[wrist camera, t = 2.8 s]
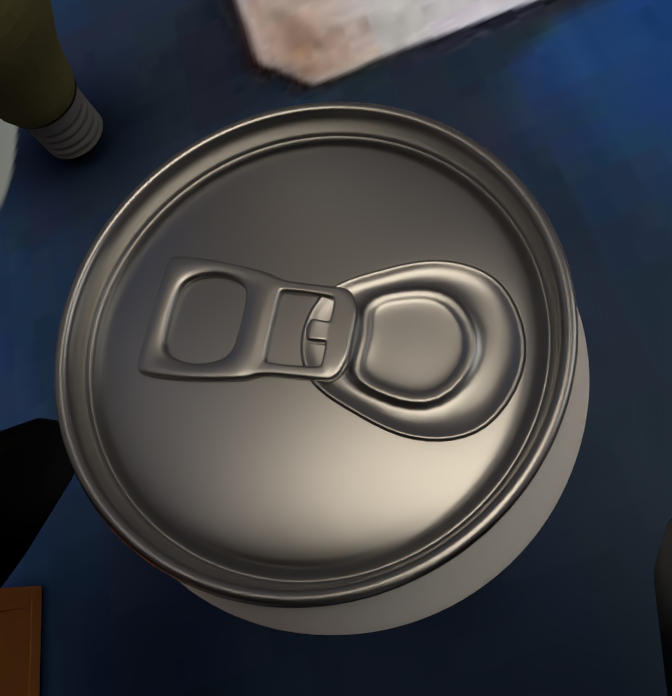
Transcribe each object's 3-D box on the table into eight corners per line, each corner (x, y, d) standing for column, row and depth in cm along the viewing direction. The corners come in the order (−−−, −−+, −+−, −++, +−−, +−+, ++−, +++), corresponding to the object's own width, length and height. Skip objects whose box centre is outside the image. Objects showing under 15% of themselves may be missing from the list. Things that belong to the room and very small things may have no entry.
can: (504, 615, 16) (614, 752, 5) (272, 566, 17) (-72, 580, 6) (525, 380, 18) (641, 69, 6) (315, 354, 19) (114, 69, 8)
